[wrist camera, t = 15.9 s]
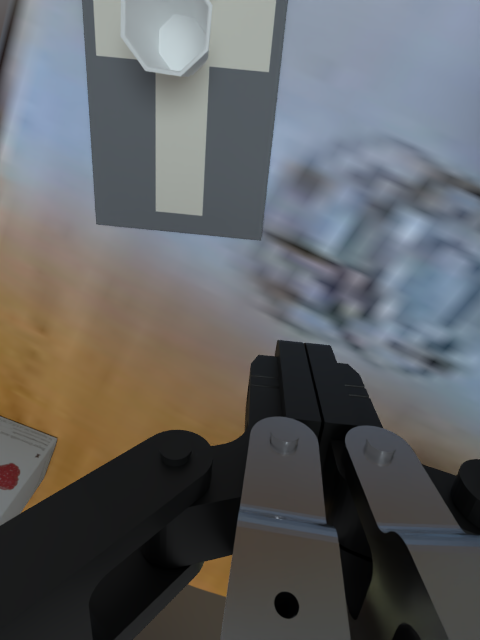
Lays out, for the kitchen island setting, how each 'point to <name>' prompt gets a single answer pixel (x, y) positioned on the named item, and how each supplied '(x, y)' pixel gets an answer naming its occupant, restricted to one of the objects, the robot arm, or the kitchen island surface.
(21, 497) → the supplement box
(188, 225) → the t mat
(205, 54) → the cup
